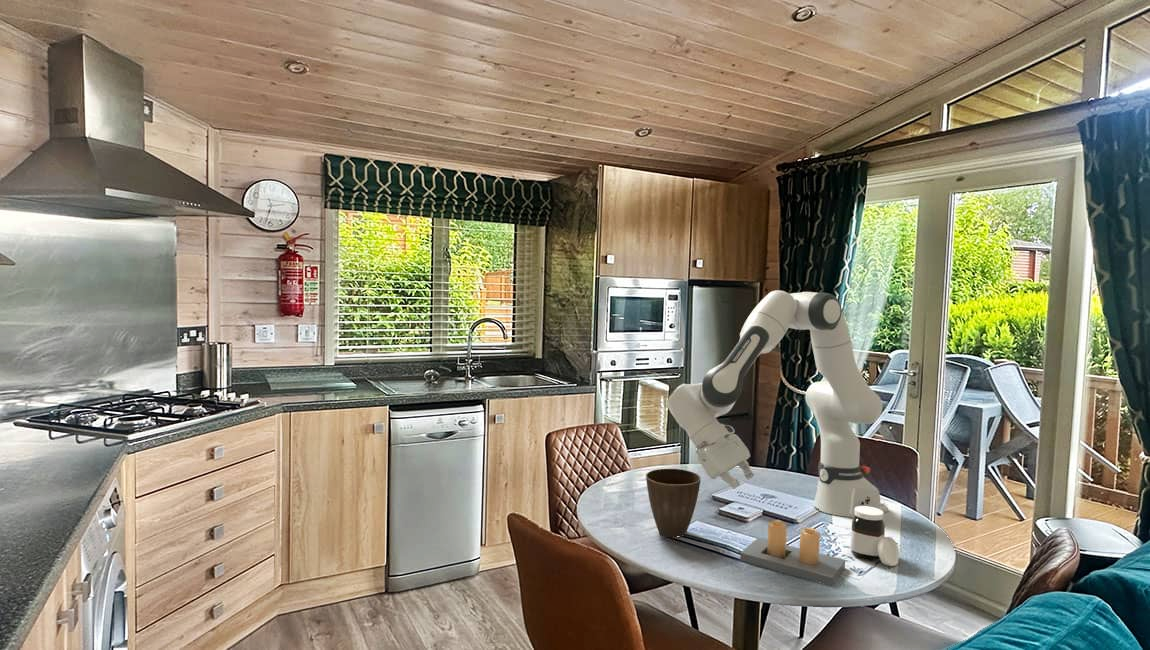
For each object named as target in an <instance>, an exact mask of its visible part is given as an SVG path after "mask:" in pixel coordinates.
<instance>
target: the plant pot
mask: <svg viewBox="0 0 1150 650" xmlns="http://www.w3.org/2000/svg"><path fill="white" fill-rule="evenodd" d="M645 479H646V489H647V495H648V499H649V504H650V509H651V512H652V516H653V519H654V523H655V525H656V528H657V531H658V533H659V535H661V536H664V537H666V538H671V537H677V536H682V535H684V534H685V533H686V534H687V532H688V529H689V527H690V524H691V521H692V518H693V516H694V512H695V510H696V509H695V508H696V506H697V505H696V504H697V502H698V501H697V500H698V496H699V493H700V485H701V480H702V477H701V476H700V475H699V474H697V473H695V472H693V471H690V470H685V469H680V468H659V469H654V470H651V471H650V470H649V471H648V472H647V473H646V474H645ZM686 534H685V535H686ZM685 535H684V536H685ZM682 537H683V536H682Z"/></svg>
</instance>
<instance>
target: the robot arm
mask: <svg viewBox="0 0 1150 650" xmlns="http://www.w3.org/2000/svg"><path fill="white" fill-rule="evenodd" d="M842 310H843V309H842V306H841V303H840V300H839V299H838V298H837V297H836V296H835V295H833V294H832V293H828V292H813V291H802V292H792V293H789V292H786V291H784V290H778V289H777V290H776V289H775V290H772V291H770V292H768V294H767V295H765V296H764V297H763V298H762V299H761V300H760V302H759V303H757V305H756V306H755V307H754V308H753V309H752V311H751V312H750V314H749V315H748V317H747V319H746V320H745V321H744V324H743V326H742V327H741V331H740V332H739V341H738V342H737V343H736V345H735V346H734V348H733V349H732V350H731V351H730V353H729V355H728V356H727V357H726V358H725V360H724V361H723V362H722V363H720V364H718V365H716V366H715V367H713V368H712V369H710V370H708V372H707V373H706V374H705V375H704V377H703V379H702V382H700V383H693V384H692V383H688V384H687V383H681V384H679V385H677V387H675V389H674V390H672V392H671V393H670V395H669V396H668V398H667V402H666V403H667V404H666V405H667V408H668V410H669V412H670V414H671V415H672V417H673V418H674V420H675V421H676V423H678V425H679V426H680V428H682V429H683V430H684V431H685V432H686V433H687V435H688V438H689V439H690V441H691V442H692V443H693V445H694V446H695V454H696V455H697V456H696V457H697V460H698V462H699V464H700V465H701V466H702V468H703V470H704V471H705V473H706V474H707V476H708V477H710V479H713V480H715V479H717V478H718V477H720V478H721V479H722V481H724V482H725V483H727V484H729V486H730V487H731V488H732V489H733V490H735V489H737V488H738V487H739V486H740V485H741V482H739V480H738V479H737V478H734V477H733V476H732V475H731V473H730V470H733V469H734V468H735V467H737V466H738V467H739V468H740V469H741V470H742V471H743V473H744V474H743V476H744V477H745V479H746V480H750V479H752V478H753V477H755V473H754V472H753V471H752V469H751V467H750V464H749V462H748V461H747V460H748V459H749V458H750V457H751V454H750V451H749V448H748V447H747V446H746V444H745V443H744V442H743V441H742V439H741V438H740V437H739V435H738V434H735V431H736V430H735V428H734V427H733V426H731V425H730V424H729V425H728V424H723V423H720V422H719V421H718V420H717V418H719V417H720V416H724V415H726V414H727V413H729V412H730V411H731V410H732V408H733V407H734V405H735V403H736V402H737V400H738V399H739V398H740V396H741V394H742V392H743V386H744V379H745V377H746V374H747V373H748V371H749V370H750V368H751V367H752V365H753V364H754V362H755V361H757V358H758V357H759V356H760V355H761V354H768V353H770V352H771V351H772V350H773V349H775V347H776V346H777V345H778V344H779V343H780V341H781V340H782V339H783V338H784V336H785V335H786V333H787V332H788V330H789V329H793V330H801V331H806V330H809V331H810V341H811V348H812V352H813V356H814V361H815V368H816V369H817V371H818V373H820V374H821V376H822V377H824V378H825V379H826V380H823V381H815V382H813V383H811V384H810V385H809V386H808V388H807V390H806V392H805V402H806V405H807V407H808V408H809V409H810V410H811V412H812V414H813V416H814V418H815V420H816V423H817V427H818V430H819V435H820V460H819V461H818V477H819V478H818V480H817V481H818V482H817V488H816V493H815V496H814V501H813V503H812V505H813V504H814V505H815V506H817V507H818V508H819V510H818V511H820V512H822V513H825V514H829V515H834V516H839V517H846V518H847V517H848V518H852V519H853V517H854V516H855V514H854V512H855V507H858V506H869V507H874V508H877V509H880V510H882V511H883V512H884V513H886V512H889V507H888V506H887V505H886V504H884V503H883V502H881V495H880V492H879V489H878V488H877V487H876V486H875V485H873V484H872V483H871V482H870V481H868V480H867V478H865V477H864V474H863V473H865V474H870V472H871V468H870V467H868V466H865V465H862V466H861V464H860V454H861V453H860V448H861V442H860V440H859V438H858V435H856V433H854V431H853V429H852V427H851V425H850V423H852V424H856V425H857V424H858V425H864V424H865V425H870V424H871V425H872V424H874V423H875V422H877V420H878V419H879V418H880V417H881V415H882V412H883V401H882V398H881V397H880V396H879V394H877V393H876V391H874V390H873V389H872V388H871V387H870V386H869V384H868V383H867V382H866V380H865V379H864V377H863V375H862V374H861V372H860V369H859V368H858V366H857V362H856V358H855V355H854V350H853V345H852V340H851V335H850V329H849V327H848V324H847V320H846V318H845V315H844V314H843V312H842Z"/></svg>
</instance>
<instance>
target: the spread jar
mask: <svg viewBox="0 0 1150 650" xmlns="http://www.w3.org/2000/svg"><path fill="white" fill-rule="evenodd" d="M884 513H885V512H883V511H882V510H880V509H877V508H874V507H869V506H858V507H855V512H854V514H855V516H854V517H853V518H852V520H851V534H850V535H851V537H850V539H851V540H850V552H851V554H853V555H854V556H855V557H857V558H860V559H862V560H866V559H868V560H869V561H878V560H880V561H881V563H882V564H883V565H885V566H888V567H889V566H890V567H893V566H894V567H895V566H896V565H897V564H898V562H899V560H900V551H899V550H900V549H899V546H898V544H897V541H896V540H895V539H894V538H893V537H891V536H885V533H886V532H885V530H886V529H885V528H886V526H885V524H886V523H885V521H884ZM868 560H867V561H868Z"/></svg>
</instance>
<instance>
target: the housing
mask: <svg viewBox="0 0 1150 650" xmlns="http://www.w3.org/2000/svg"><path fill="white" fill-rule="evenodd" d="M799 532H800V533H799V534H800V535H799V547H794V546H791V545H787V544H786V556H785V559H781V558H777V557H774V556H770V555H767V545H768V539H764V538H761V537H760V538H759V537H757V538H756V539H755V540H754V541H752V543H750V544H749V545H748V546H747V547H745V548H744V549H743V550H742V551H741V552H740V558H739V561H741V562H744V563H748V564H752V565H755V566H757V567H758V566H759V567H762V568H766V569H769V570H773V571H776V572H780V573H784V574H787V575H791V576H795V577H797V576H798V578H801V579H806V580H808V579H809V581H812V580H813V581H812V582H815V581H817V582H816V583H819V582H821V583H820V584H822V583H824V585H826V584H828V585H827V586H830V585H832V584H833V583H836V581H837V580H838V578H839V577H840V575H842V573H843V572H844V570H845V568H846V560H845V559H842V558H838V557H834V556H830V555H826V554H822V553H820V535H821V533H820V532H819V531H817V530H816V528H812V527H809V526H806V527H805V529H801V530H800V531H799ZM836 579H837V580H836ZM833 585H834V584H833ZM833 585H832V586H833Z"/></svg>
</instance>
